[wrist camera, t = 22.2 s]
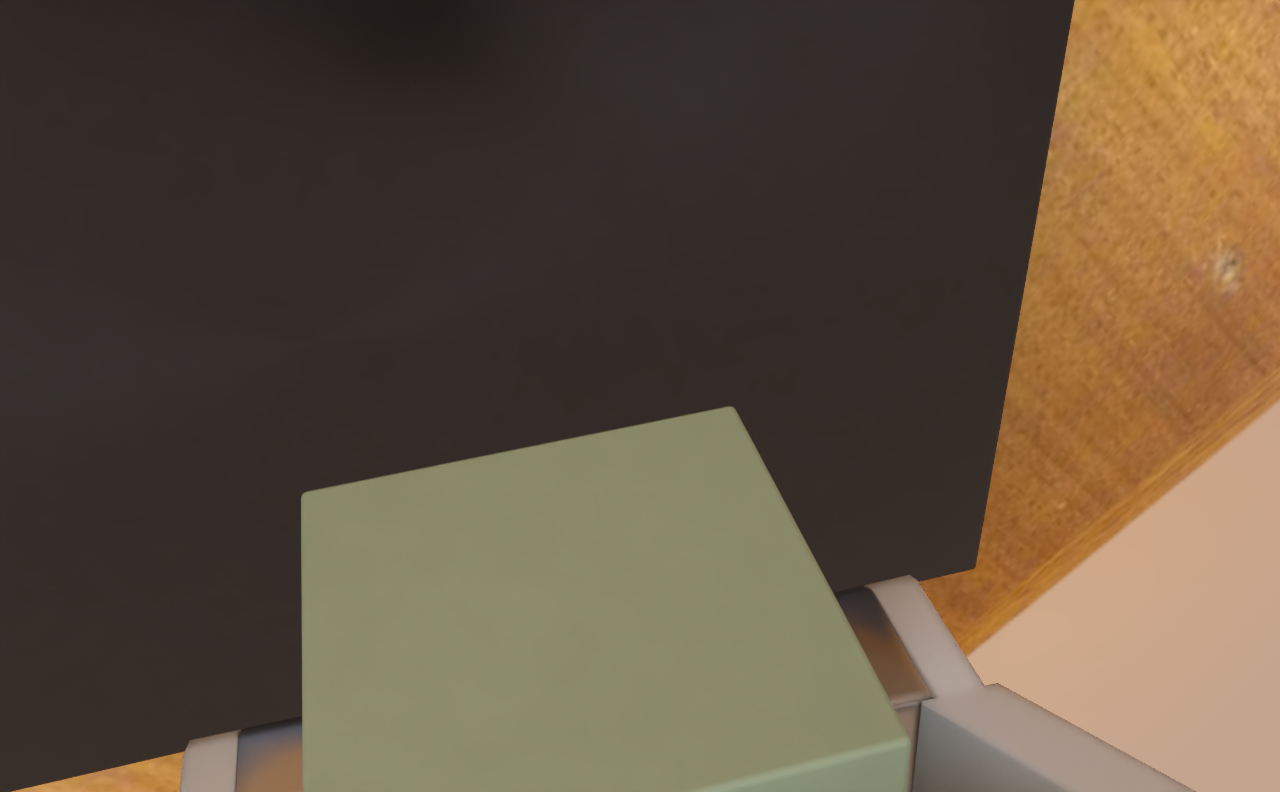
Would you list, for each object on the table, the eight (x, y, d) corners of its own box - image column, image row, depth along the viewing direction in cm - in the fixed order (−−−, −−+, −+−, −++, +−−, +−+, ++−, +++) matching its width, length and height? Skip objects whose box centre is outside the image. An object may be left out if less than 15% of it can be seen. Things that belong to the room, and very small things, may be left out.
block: (734, 401, 12) (914, 740, 9) (742, 687, 15) (884, 1038, 11) (298, 489, 12) (302, 895, 8) (387, 773, 14) (418, 1175, 11)
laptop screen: (-1185, -217, 14) (-1262, -201, 13) (1119, -437, 18) (1151, -434, 18) (-223, 815, 28) (-237, 850, 27) (960, 545, 32) (975, 569, 31)
